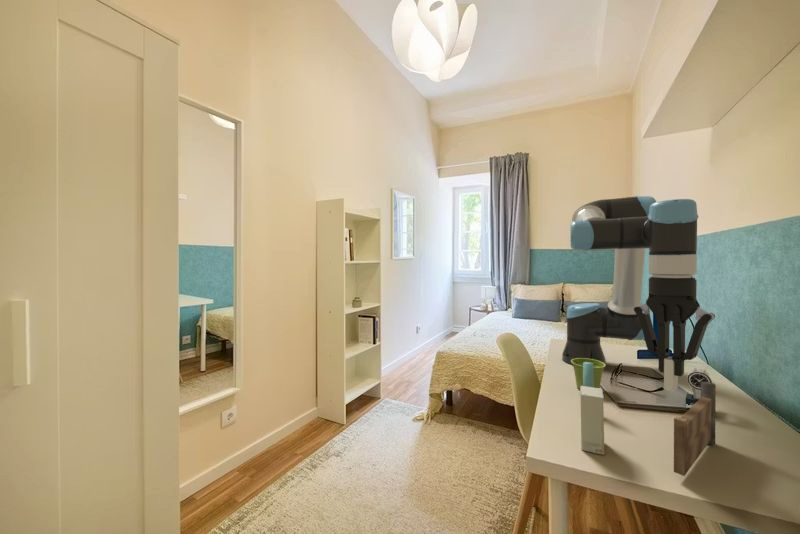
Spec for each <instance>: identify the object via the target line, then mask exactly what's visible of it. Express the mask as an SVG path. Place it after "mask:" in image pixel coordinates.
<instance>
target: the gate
mask: <svg viewBox="0 0 800 534" xmlns="http://www.w3.org/2000/svg"><path fill="white" fill-rule="evenodd" d="M713 383H714V382H712V383H710V382H701V398H700V399H699V400H698V401H697V402H696V403H695V404H694V405H693V406H692V407H691V408H690V409H689V410H687V411H686V412H685V413H684V414H683V415H681V417H680V416H677V415H676V416H675V417H674V418H673V472H674V473H675V474H678V475H680V476H683V477H685V476H686V475H687V474H688V472H689V470H690V469H691V468H692V466H693V465H694V464H695V462H696V461H698V458H699V457H700V455H702V453H703V452H704V450H705V449H706V448H707V446H708V445H712V446H713V445H716V418H717V417H716V413H717V412H716V411H717V409H716V408H717V407H716V406H717V404H716V401H717V400H716V396H717V395H716V394H717V393H716V392H717V391H716V390H717V389H716V388H717V386H716V383H714V384H713Z"/></svg>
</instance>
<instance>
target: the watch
mask: <svg viewBox="0 0 800 534" xmlns="http://www.w3.org/2000/svg"><path fill="white" fill-rule="evenodd" d="M686 381H687V384H688V386H689V388H690V391H691V392H692V393H686V395H685V405H686V404H688V405H694V404H695V403H696V402H697V401H698V400H699V399H700V398H701V382H710V383H713V384H715V382H713V381H712V379H711V377H710V375H709V372H707V369H703V368H697V367H695V368H694V369H692V370H691V371H690V373H688V375H687V376H686Z"/></svg>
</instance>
